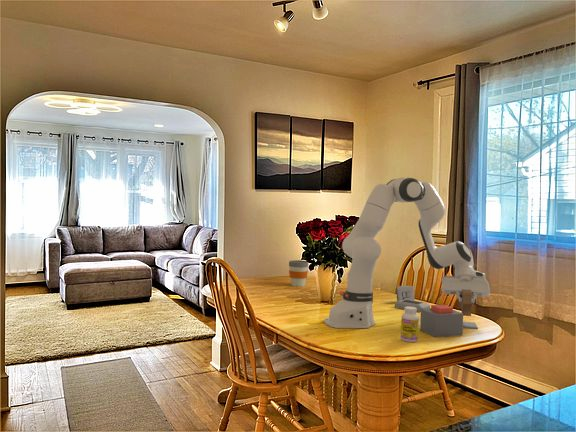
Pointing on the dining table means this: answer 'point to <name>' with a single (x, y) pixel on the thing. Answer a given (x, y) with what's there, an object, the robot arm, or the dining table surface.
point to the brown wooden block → (466, 302)
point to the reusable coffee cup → (298, 272)
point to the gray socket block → (441, 323)
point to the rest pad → (470, 325)
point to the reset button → (441, 309)
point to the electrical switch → (405, 293)
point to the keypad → (412, 304)
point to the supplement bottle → (410, 325)
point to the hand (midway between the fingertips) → (466, 302)
